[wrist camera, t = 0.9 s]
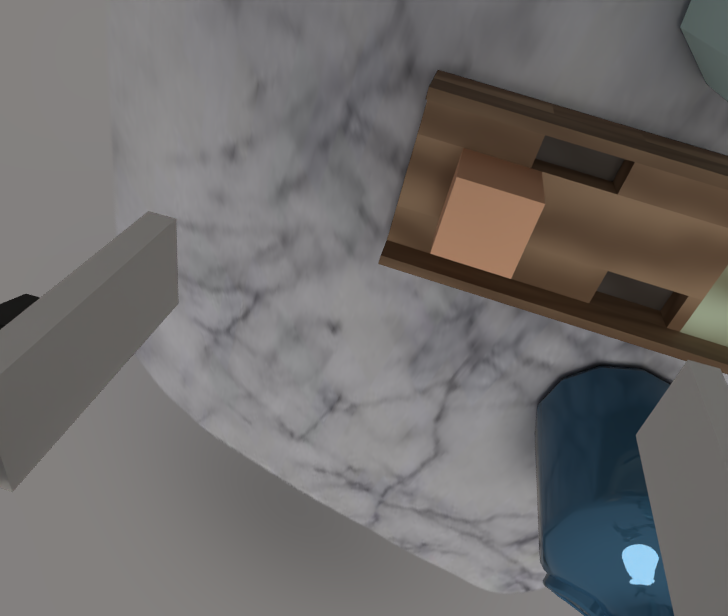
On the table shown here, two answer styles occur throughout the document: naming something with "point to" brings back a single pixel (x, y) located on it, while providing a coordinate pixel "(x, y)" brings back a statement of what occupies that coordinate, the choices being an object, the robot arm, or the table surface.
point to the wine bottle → (599, 494)
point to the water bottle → (709, 41)
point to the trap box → (581, 220)
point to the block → (489, 213)
